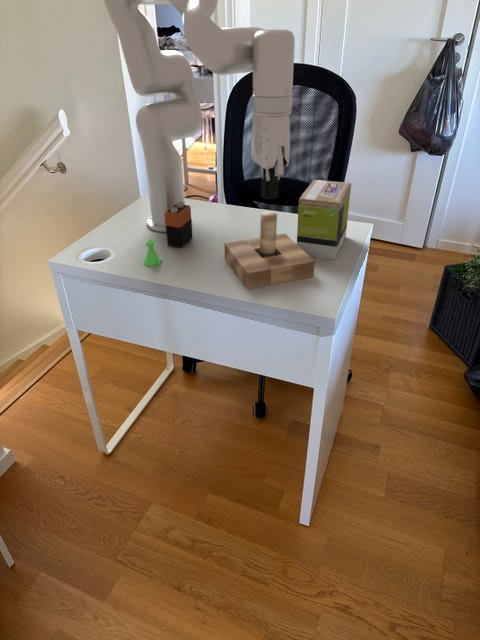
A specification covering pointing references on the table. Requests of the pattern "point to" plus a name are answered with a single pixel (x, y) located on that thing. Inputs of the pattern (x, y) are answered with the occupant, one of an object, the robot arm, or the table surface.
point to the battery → (178, 225)
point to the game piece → (151, 255)
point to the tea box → (323, 218)
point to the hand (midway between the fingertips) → (269, 197)
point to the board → (268, 262)
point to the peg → (268, 234)
